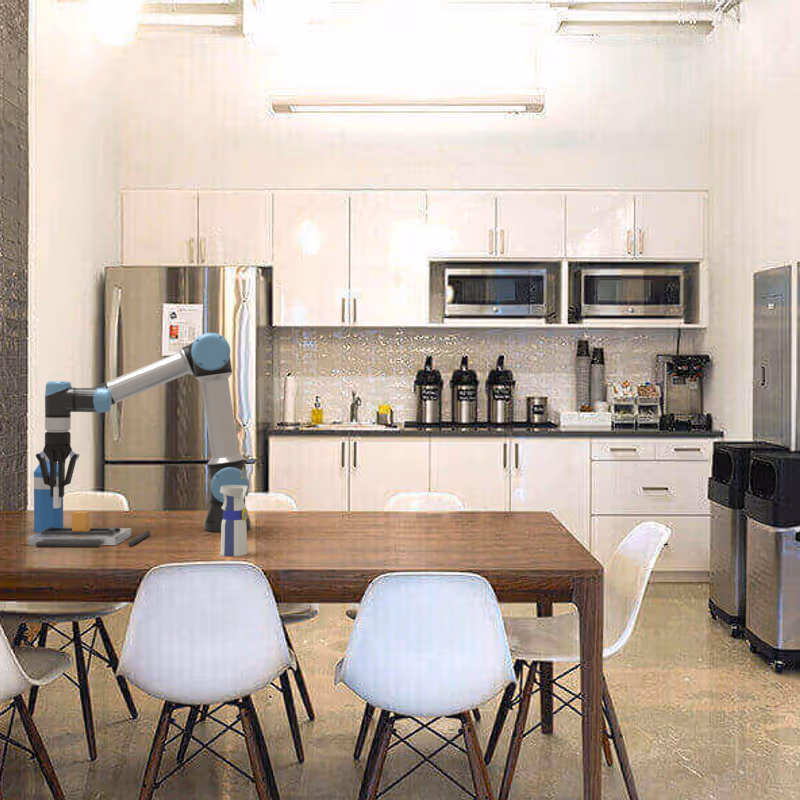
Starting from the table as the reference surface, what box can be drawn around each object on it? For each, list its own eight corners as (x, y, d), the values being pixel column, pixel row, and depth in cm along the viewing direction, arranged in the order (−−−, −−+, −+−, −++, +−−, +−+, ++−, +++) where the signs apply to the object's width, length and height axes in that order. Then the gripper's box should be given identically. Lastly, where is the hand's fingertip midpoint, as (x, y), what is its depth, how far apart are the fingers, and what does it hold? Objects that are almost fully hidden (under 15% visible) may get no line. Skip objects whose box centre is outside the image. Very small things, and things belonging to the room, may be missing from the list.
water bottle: (54, 533, 326) (53, 455, 325) (28, 532, 328) (27, 455, 327) (69, 528, 335) (68, 453, 334) (43, 527, 337) (43, 453, 336)
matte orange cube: (90, 530, 314) (90, 511, 314) (85, 532, 309) (85, 513, 309) (77, 530, 314) (77, 510, 314) (72, 532, 309) (71, 513, 309)
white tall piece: (253, 551, 292) (253, 465, 292) (242, 556, 284) (242, 468, 283) (227, 550, 294) (226, 465, 294) (215, 555, 286) (215, 467, 285)
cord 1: (100, 546, 301) (99, 541, 300) (98, 547, 299) (98, 542, 299) (36, 546, 301) (36, 541, 301) (34, 547, 299) (34, 541, 299)
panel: (131, 535, 320) (131, 524, 320) (115, 545, 302) (115, 532, 302) (49, 535, 320) (49, 523, 320) (28, 545, 302) (28, 532, 302)
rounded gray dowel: (145, 535, 321) (145, 530, 321) (150, 535, 321) (150, 530, 321) (127, 546, 300) (127, 541, 300) (132, 546, 300) (132, 541, 300)
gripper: (82, 430, 314) (82, 506, 315) (40, 430, 314) (40, 505, 315) (75, 432, 307) (74, 509, 307) (32, 431, 307) (31, 509, 307)
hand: (57, 507), depth 311 cm, fingers closed
